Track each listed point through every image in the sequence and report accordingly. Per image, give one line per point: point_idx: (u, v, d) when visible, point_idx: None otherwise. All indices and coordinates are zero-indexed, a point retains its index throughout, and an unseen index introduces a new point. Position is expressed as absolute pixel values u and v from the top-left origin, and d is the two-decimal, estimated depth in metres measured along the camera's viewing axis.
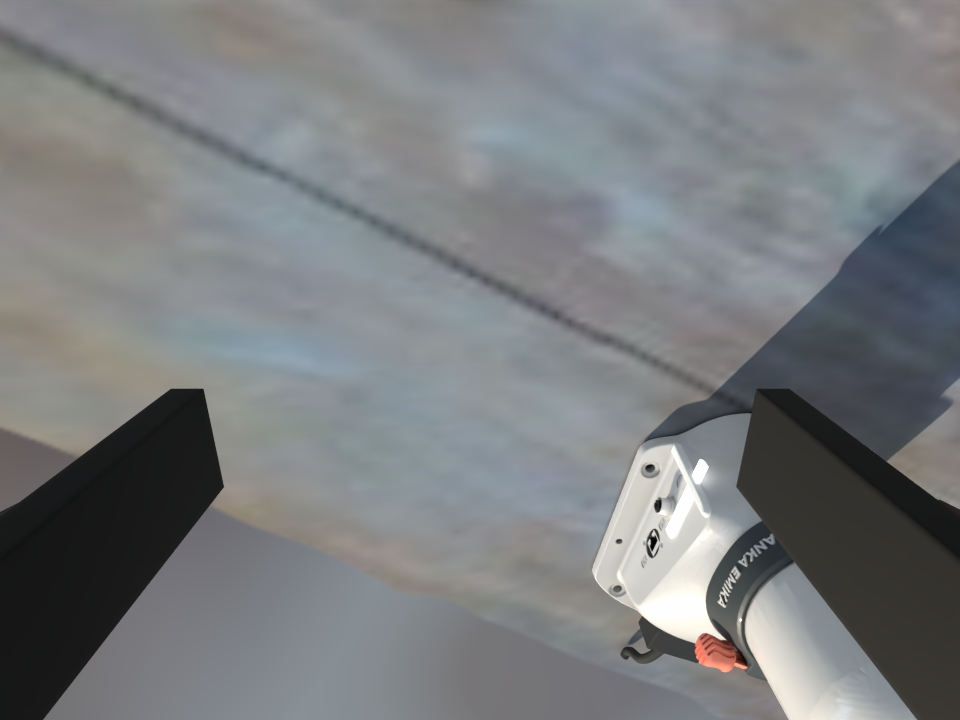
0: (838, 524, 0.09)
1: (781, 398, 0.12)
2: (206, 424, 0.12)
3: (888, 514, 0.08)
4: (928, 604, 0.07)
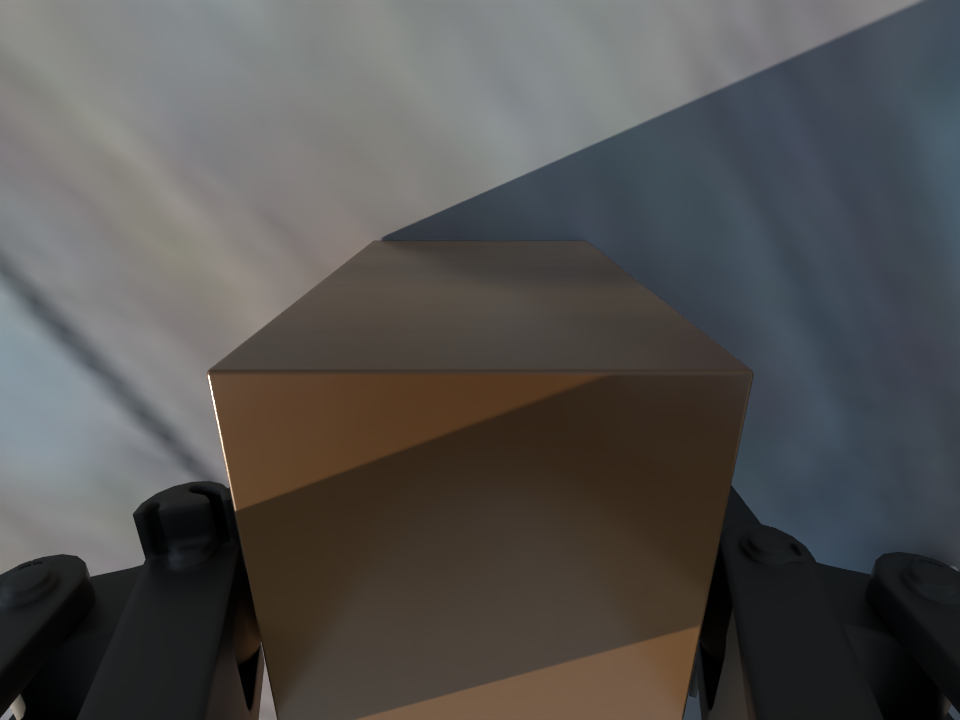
0: None
1: None
2: None
3: None
4: None
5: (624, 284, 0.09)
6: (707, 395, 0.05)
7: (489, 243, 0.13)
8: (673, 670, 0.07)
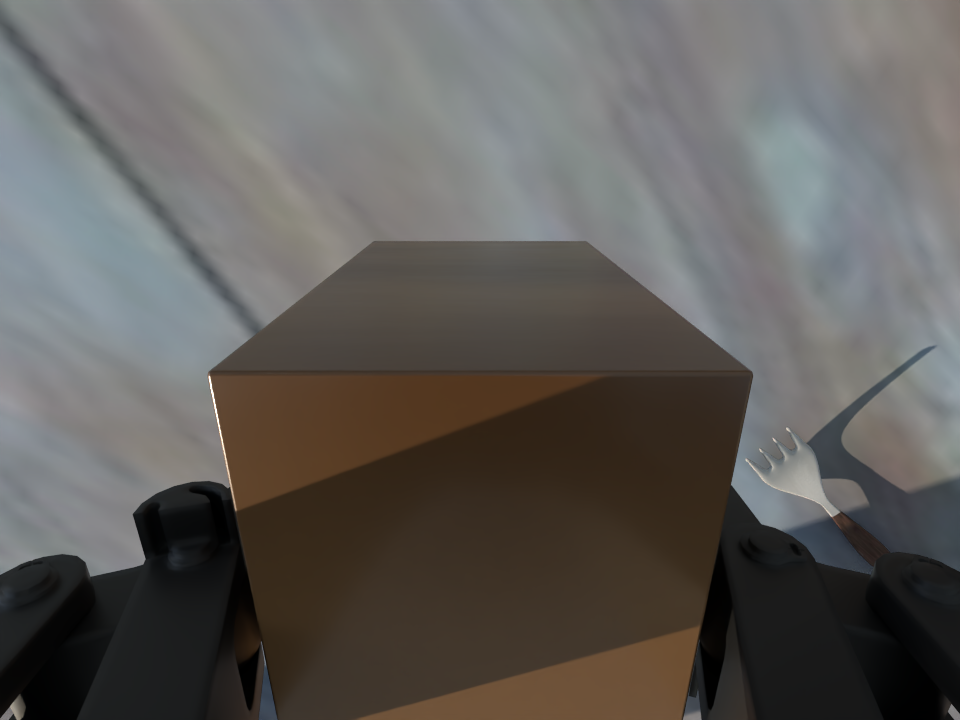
0: None
1: None
2: None
3: None
4: None
5: (624, 285, 0.09)
6: (707, 396, 0.05)
7: (489, 244, 0.13)
8: (673, 670, 0.07)
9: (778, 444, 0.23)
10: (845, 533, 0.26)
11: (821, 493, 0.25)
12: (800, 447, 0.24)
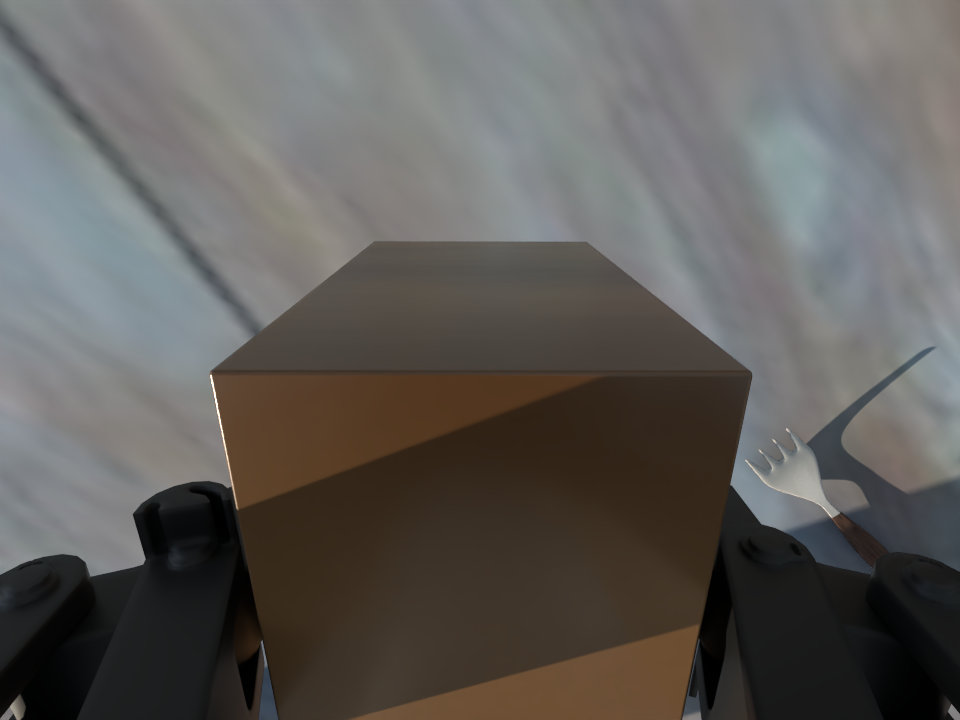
0: None
1: None
2: None
3: None
4: None
5: (624, 285, 0.09)
6: (706, 396, 0.05)
7: (489, 244, 0.13)
8: (672, 669, 0.07)
9: (778, 445, 0.23)
10: (845, 534, 0.26)
11: (821, 494, 0.25)
12: (800, 448, 0.24)
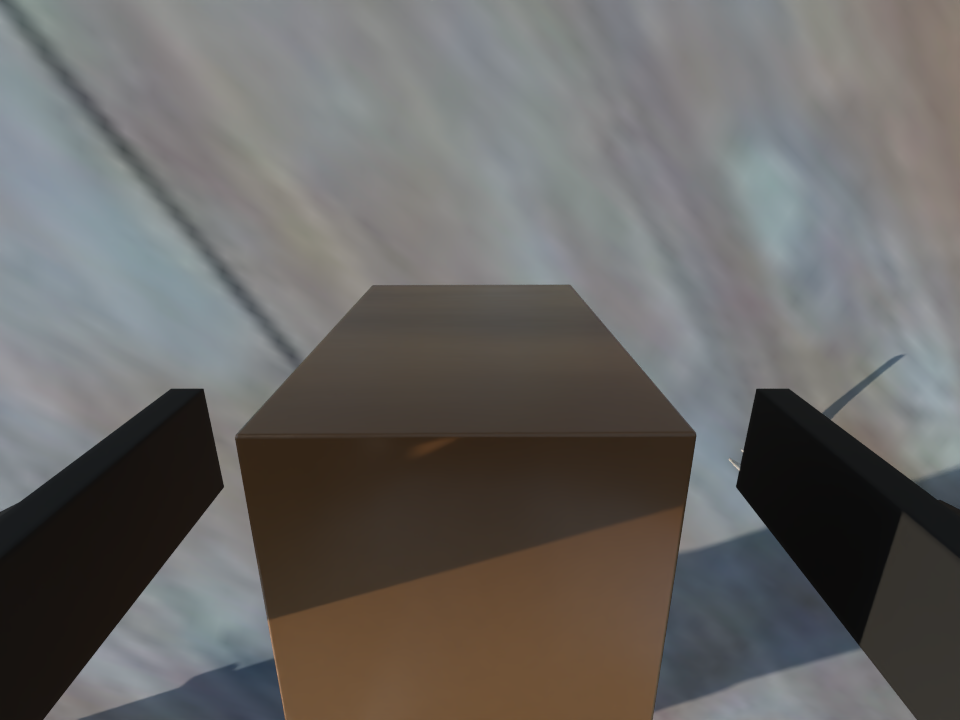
0: (838, 524, 0.09)
1: (781, 398, 0.12)
2: (206, 424, 0.12)
3: (888, 514, 0.08)
4: (928, 604, 0.07)
5: (598, 337, 0.10)
6: (658, 452, 0.06)
7: (480, 288, 0.14)
8: (639, 688, 0.08)
9: None
10: None
11: None
12: None
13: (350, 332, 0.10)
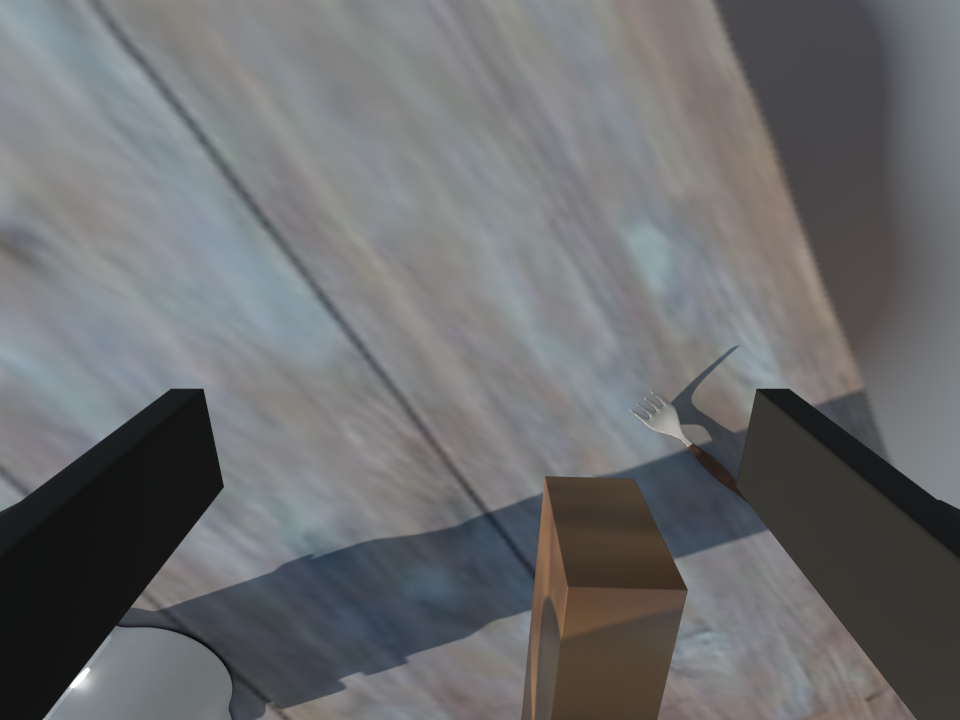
0: (838, 524, 0.09)
1: (781, 398, 0.12)
2: (206, 424, 0.12)
3: (888, 514, 0.08)
4: (928, 604, 0.07)
5: (654, 533, 0.27)
6: (677, 594, 0.24)
7: (595, 482, 0.31)
8: (666, 656, 0.25)
9: (648, 401, 0.40)
10: (696, 457, 0.43)
11: (680, 432, 0.43)
12: (665, 404, 0.42)
13: (563, 525, 0.28)
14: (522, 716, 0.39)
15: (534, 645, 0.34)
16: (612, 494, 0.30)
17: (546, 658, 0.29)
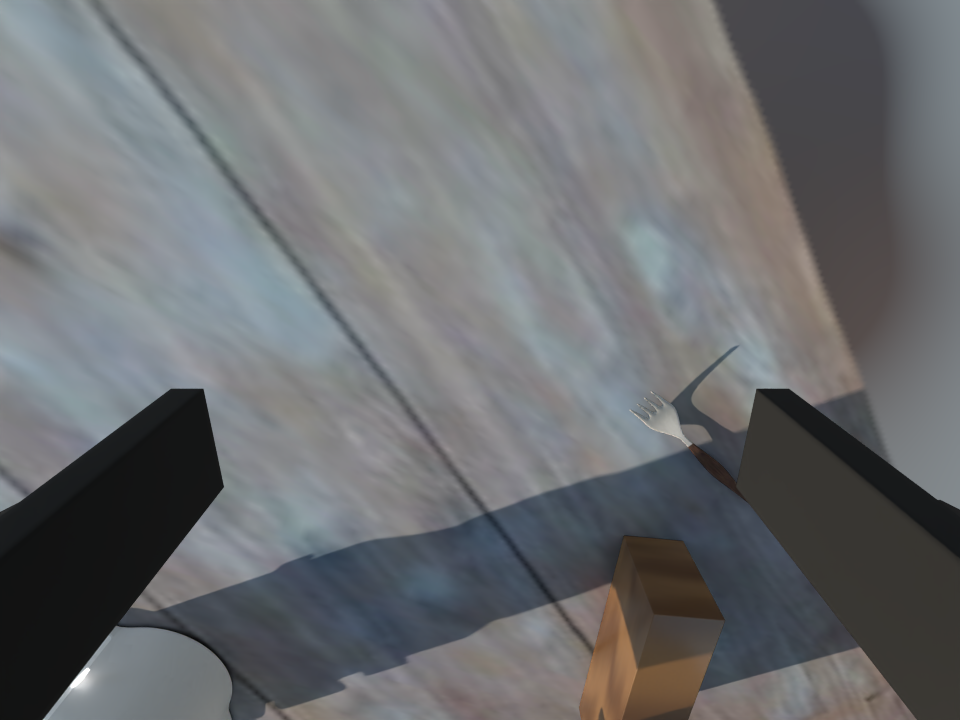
0: (838, 524, 0.09)
1: (781, 398, 0.12)
2: (206, 424, 0.12)
3: (888, 514, 0.08)
4: (928, 604, 0.07)
5: (701, 581, 0.43)
6: (718, 622, 0.39)
7: (657, 542, 0.47)
8: (707, 659, 0.41)
9: (648, 401, 0.40)
10: (696, 457, 0.43)
11: (680, 432, 0.43)
12: (665, 404, 0.42)
13: (643, 573, 0.43)
14: (582, 699, 0.54)
15: (604, 649, 0.49)
16: (670, 552, 0.46)
17: (623, 657, 0.44)
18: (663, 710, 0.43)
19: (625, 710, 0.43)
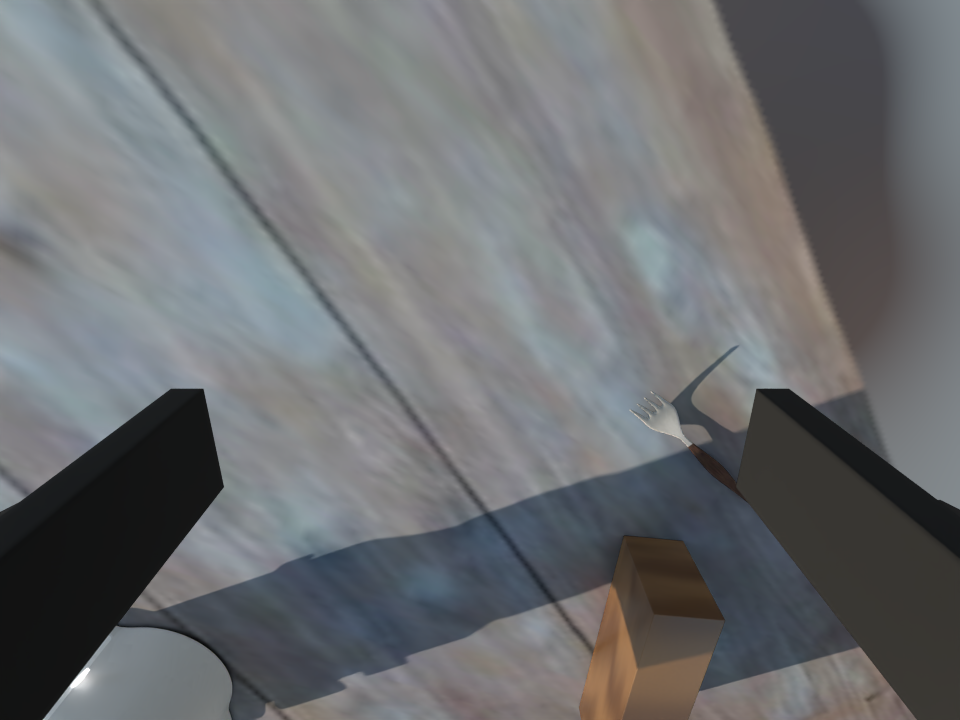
0: (838, 524, 0.09)
1: (781, 398, 0.12)
2: (206, 424, 0.12)
3: (888, 514, 0.08)
4: (928, 604, 0.07)
5: (701, 581, 0.43)
6: (718, 622, 0.39)
7: (657, 542, 0.47)
8: (707, 659, 0.41)
9: (648, 401, 0.40)
10: (696, 457, 0.43)
11: (680, 432, 0.43)
12: (665, 404, 0.42)
13: (643, 573, 0.43)
14: (582, 699, 0.54)
15: (604, 649, 0.49)
16: (670, 552, 0.46)
17: (623, 657, 0.44)
18: (663, 710, 0.43)
19: (625, 710, 0.43)
